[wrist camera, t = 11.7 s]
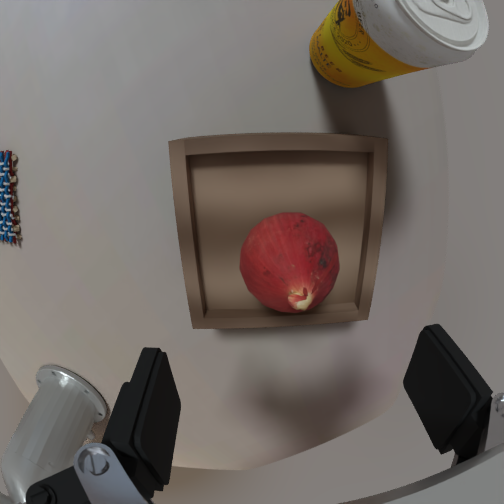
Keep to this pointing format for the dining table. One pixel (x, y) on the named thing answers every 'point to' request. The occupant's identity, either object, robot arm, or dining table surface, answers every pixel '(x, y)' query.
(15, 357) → the dining table surface
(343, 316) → the walnut tray
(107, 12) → the dining table surface
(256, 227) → the pomegranate
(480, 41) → the beer can
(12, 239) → the woven mat
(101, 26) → the dining table surface
